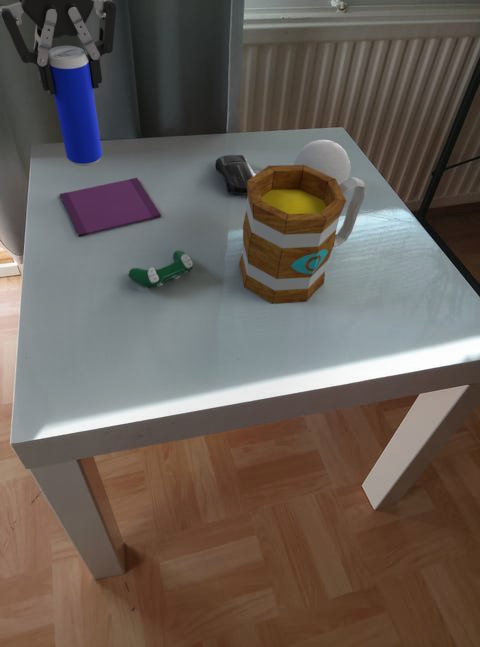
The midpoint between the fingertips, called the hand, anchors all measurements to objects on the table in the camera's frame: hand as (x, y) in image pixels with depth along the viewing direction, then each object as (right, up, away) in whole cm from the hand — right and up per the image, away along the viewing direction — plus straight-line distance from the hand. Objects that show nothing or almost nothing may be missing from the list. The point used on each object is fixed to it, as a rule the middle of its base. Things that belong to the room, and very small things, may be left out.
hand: (72, 88), depth 68 cm
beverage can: (-1, -7, +8) cm, 11 cm away
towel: (0, -12, +18) cm, 22 cm away
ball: (+37, -8, +25) cm, 45 cm away
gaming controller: (+11, -25, +8) cm, 29 cm away
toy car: (+22, -5, +26) cm, 35 cm away
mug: (+32, -23, +11) cm, 41 cm away
